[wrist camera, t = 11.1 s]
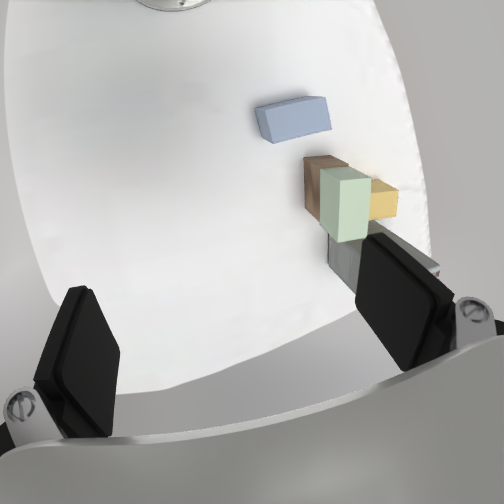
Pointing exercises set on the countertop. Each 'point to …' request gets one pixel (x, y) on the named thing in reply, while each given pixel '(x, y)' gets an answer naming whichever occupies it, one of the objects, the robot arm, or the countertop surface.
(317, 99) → the slate brick
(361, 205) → the sage brick
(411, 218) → the countertop surface
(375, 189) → the ochre brick
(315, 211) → the walnut brick
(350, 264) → the skincare box
